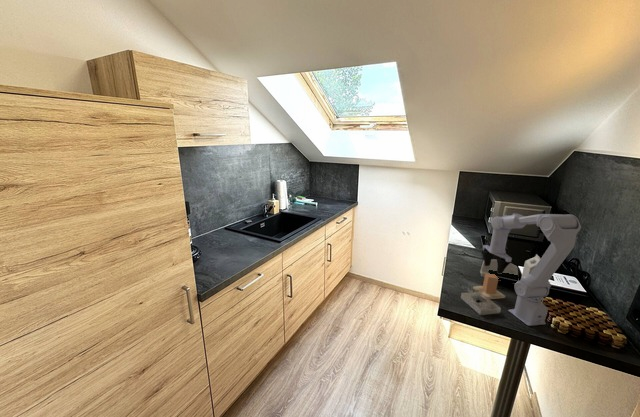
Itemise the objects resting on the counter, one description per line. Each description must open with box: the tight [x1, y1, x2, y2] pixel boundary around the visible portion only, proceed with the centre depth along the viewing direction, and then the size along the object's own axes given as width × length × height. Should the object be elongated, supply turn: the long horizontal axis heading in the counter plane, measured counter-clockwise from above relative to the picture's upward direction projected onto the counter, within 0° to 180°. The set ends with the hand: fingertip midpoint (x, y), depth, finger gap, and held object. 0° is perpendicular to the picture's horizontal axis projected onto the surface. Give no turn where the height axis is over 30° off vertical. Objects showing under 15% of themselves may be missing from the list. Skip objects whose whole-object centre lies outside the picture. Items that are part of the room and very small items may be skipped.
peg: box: [482, 273, 499, 294], centre depth 121 cm, size 4×4×8 cm
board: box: [472, 285, 506, 300], centre depth 122 cm, size 9×9×1 cm
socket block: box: [460, 291, 502, 316], centre depth 113 cm, size 12×9×2 cm
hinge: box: [479, 259, 519, 278], centre depth 136 cm, size 17×5×10 cm, turn 64°
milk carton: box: [520, 253, 542, 279], centre depth 119 cm, size 7×7×19 cm
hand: (493, 269), depth 123 cm, fingers open, 7 cm apart
